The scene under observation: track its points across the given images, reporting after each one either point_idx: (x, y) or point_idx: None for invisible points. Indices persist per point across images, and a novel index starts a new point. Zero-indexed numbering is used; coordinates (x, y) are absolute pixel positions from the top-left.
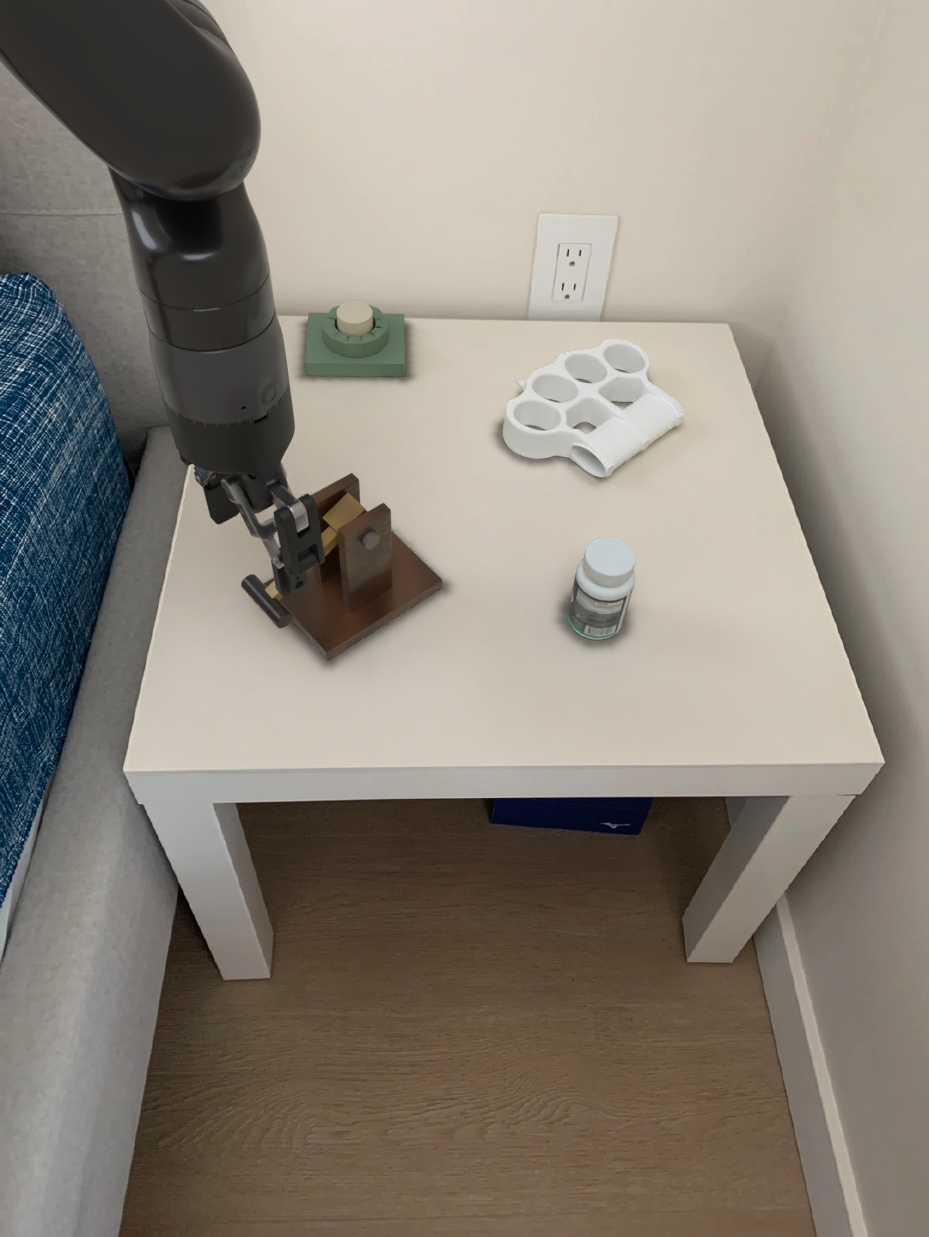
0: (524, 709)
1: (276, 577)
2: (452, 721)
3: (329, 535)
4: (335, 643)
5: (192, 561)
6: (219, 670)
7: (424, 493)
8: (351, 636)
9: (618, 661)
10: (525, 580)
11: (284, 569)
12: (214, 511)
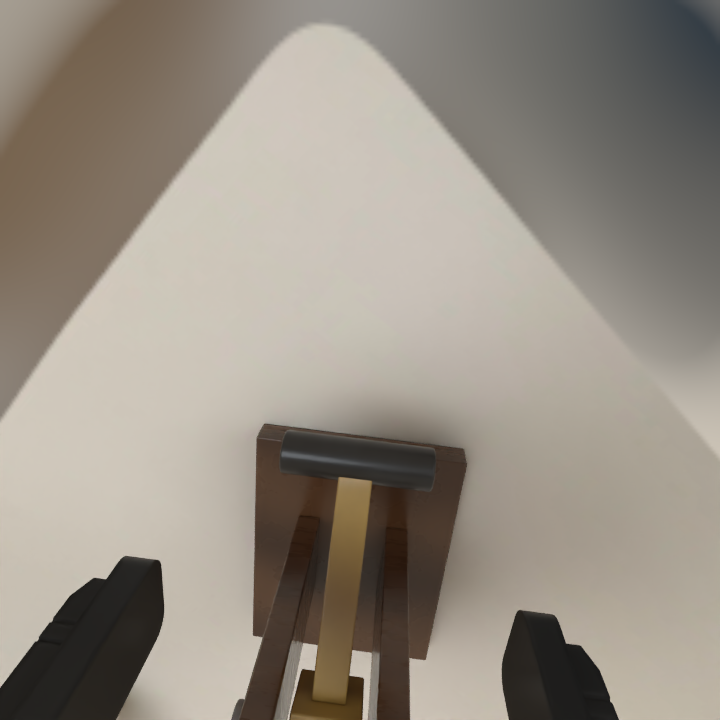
0: (13, 545)
1: (87, 632)
2: (49, 471)
3: (326, 685)
4: (263, 459)
5: (636, 406)
6: (386, 277)
7: (419, 711)
8: (257, 485)
9: (15, 660)
10: (193, 683)
11: (15, 706)
12: (538, 672)
